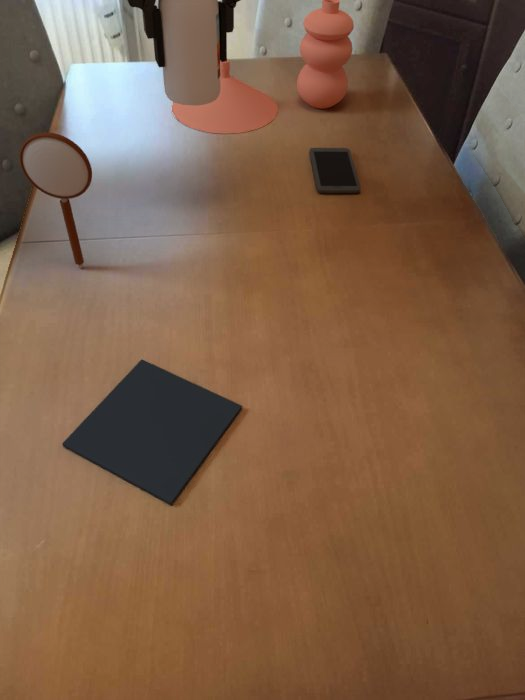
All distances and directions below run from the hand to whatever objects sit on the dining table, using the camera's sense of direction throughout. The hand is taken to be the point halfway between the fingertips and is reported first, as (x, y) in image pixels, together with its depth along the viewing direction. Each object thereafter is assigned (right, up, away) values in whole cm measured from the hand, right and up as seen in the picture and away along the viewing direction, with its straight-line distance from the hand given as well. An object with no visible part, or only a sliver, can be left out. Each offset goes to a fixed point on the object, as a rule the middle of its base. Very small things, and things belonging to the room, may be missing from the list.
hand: (191, 60), depth 80 cm
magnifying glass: (-16, -27, +4) cm, 32 cm away
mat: (-2, -47, -14) cm, 49 cm away
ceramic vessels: (+9, +10, +40) cm, 42 cm away
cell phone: (+22, -8, +23) cm, 33 cm away
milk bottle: (0, -3, +4) cm, 5 cm away
